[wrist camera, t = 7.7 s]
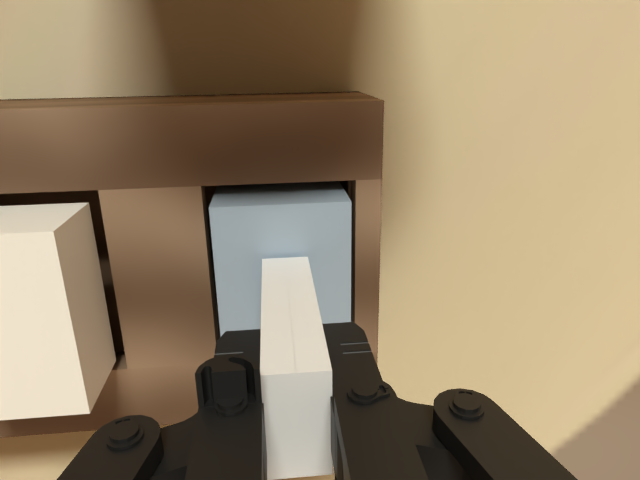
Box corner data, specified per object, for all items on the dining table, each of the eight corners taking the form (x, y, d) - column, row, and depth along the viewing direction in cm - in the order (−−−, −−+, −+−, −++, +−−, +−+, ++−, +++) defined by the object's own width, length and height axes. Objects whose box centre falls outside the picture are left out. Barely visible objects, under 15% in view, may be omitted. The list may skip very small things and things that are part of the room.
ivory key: (-57, 208, 16) (-124, 239, 14) (89, 202, 17) (53, 231, 14) (-13, 369, 18) (-64, 425, 16) (115, 360, 19) (89, 413, 16)
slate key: (217, 185, 19) (208, 207, 16) (338, 180, 19) (351, 201, 16) (229, 329, 21) (223, 372, 18) (339, 322, 21) (350, 363, 18)
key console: (-275, 106, 19) (-451, 120, 14) (357, 91, 21) (383, 100, 17) (-168, 378, 23) (-278, 459, 18) (355, 343, 25) (376, 407, 21)
